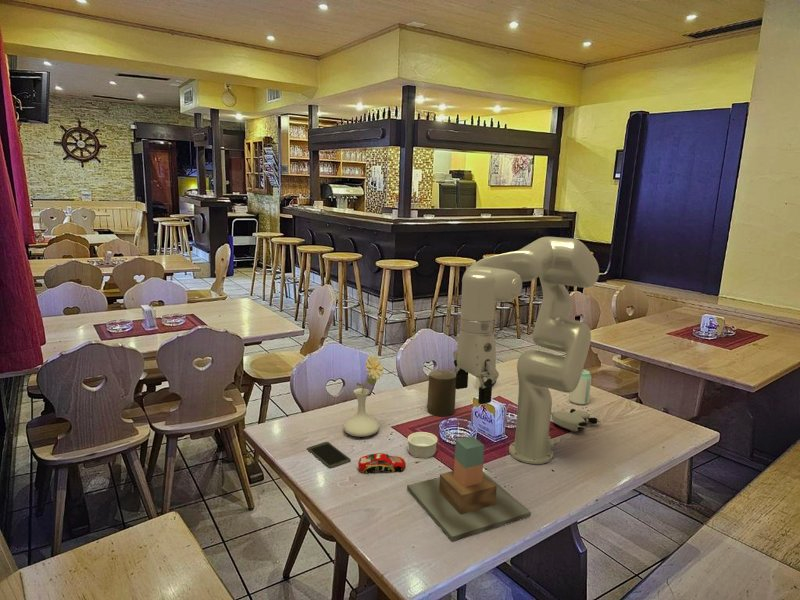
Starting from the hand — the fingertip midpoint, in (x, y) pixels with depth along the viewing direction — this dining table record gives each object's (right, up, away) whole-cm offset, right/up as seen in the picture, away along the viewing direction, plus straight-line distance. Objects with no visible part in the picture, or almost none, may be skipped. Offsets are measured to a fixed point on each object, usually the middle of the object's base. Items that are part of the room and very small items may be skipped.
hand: (472, 395), depth 121 cm
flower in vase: (-29, -20, +42) cm, 55 cm away
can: (+50, -16, +70) cm, 88 cm away
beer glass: (+15, -13, +81) cm, 83 cm away
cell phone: (-38, -23, +27) cm, 52 cm away
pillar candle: (-3, -17, +59) cm, 62 cm away
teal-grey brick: (0, -17, +4) cm, 17 cm away
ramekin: (-11, -23, +30) cm, 39 cm away
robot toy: (+41, -20, +51) cm, 68 cm away
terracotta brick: (-1, -22, +5) cm, 22 cm away
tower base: (-1, -28, +6) cm, 28 cm away
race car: (-22, -25, +21) cm, 39 cm away
